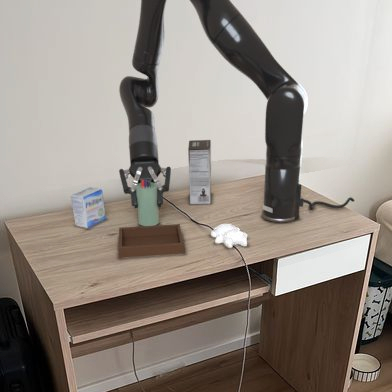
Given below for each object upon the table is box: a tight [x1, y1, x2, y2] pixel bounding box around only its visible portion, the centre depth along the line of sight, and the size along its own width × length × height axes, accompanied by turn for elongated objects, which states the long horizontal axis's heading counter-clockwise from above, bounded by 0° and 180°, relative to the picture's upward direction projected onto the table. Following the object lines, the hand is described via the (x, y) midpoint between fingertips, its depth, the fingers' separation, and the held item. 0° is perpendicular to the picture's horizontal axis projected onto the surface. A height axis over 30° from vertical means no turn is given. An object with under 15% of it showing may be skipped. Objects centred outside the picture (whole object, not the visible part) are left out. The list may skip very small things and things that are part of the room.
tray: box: [118, 223, 185, 259], centre depth 135 cm, size 16×13×3 cm
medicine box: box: [70, 186, 106, 229], centre depth 147 cm, size 8×4×9 cm, turn 148°
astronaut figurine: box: [210, 223, 248, 249], centre depth 137 cm, size 9×12×3 cm
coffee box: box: [187, 139, 212, 205], centre depth 158 cm, size 9×6×16 cm
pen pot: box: [135, 180, 160, 226], centre depth 142 cm, size 6×6×12 cm
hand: (147, 206), depth 142 cm, fingers closed on pen pot, 5 cm apart
